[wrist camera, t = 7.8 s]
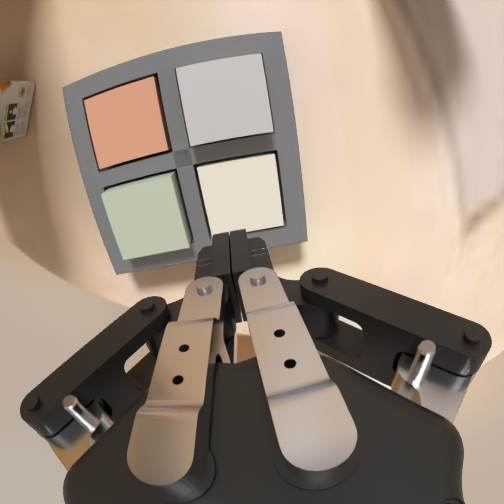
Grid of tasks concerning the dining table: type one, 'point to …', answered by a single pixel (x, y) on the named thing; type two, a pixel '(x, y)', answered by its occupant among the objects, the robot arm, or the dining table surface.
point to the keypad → (188, 156)
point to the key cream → (241, 192)
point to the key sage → (148, 215)
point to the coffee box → (15, 108)
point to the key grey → (225, 98)
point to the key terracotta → (128, 122)
